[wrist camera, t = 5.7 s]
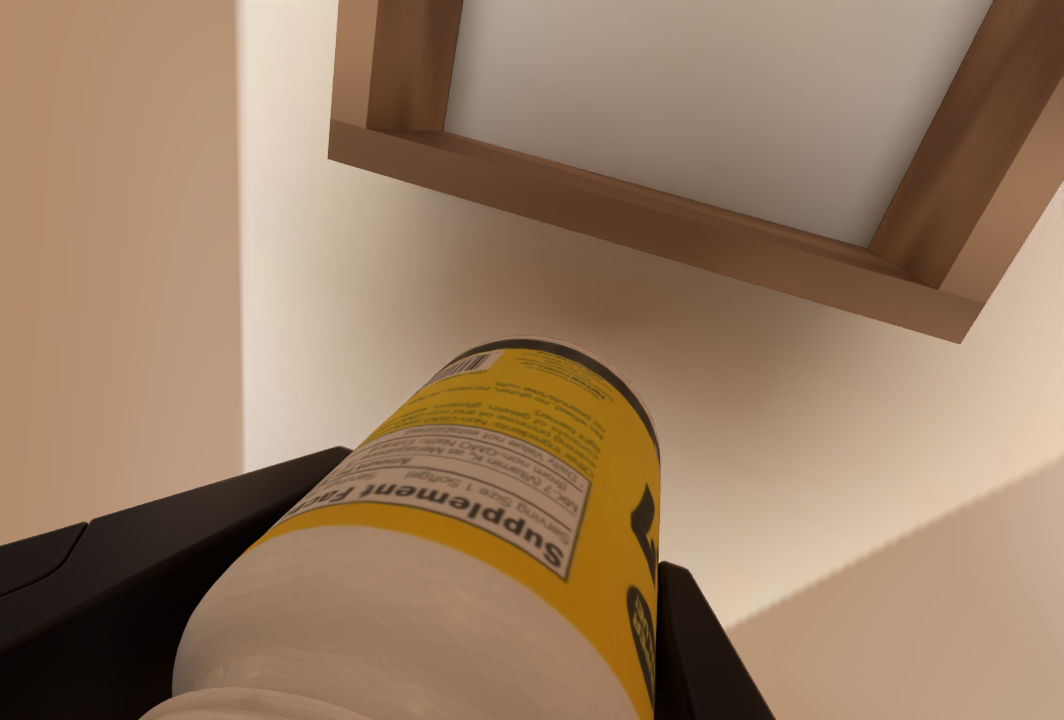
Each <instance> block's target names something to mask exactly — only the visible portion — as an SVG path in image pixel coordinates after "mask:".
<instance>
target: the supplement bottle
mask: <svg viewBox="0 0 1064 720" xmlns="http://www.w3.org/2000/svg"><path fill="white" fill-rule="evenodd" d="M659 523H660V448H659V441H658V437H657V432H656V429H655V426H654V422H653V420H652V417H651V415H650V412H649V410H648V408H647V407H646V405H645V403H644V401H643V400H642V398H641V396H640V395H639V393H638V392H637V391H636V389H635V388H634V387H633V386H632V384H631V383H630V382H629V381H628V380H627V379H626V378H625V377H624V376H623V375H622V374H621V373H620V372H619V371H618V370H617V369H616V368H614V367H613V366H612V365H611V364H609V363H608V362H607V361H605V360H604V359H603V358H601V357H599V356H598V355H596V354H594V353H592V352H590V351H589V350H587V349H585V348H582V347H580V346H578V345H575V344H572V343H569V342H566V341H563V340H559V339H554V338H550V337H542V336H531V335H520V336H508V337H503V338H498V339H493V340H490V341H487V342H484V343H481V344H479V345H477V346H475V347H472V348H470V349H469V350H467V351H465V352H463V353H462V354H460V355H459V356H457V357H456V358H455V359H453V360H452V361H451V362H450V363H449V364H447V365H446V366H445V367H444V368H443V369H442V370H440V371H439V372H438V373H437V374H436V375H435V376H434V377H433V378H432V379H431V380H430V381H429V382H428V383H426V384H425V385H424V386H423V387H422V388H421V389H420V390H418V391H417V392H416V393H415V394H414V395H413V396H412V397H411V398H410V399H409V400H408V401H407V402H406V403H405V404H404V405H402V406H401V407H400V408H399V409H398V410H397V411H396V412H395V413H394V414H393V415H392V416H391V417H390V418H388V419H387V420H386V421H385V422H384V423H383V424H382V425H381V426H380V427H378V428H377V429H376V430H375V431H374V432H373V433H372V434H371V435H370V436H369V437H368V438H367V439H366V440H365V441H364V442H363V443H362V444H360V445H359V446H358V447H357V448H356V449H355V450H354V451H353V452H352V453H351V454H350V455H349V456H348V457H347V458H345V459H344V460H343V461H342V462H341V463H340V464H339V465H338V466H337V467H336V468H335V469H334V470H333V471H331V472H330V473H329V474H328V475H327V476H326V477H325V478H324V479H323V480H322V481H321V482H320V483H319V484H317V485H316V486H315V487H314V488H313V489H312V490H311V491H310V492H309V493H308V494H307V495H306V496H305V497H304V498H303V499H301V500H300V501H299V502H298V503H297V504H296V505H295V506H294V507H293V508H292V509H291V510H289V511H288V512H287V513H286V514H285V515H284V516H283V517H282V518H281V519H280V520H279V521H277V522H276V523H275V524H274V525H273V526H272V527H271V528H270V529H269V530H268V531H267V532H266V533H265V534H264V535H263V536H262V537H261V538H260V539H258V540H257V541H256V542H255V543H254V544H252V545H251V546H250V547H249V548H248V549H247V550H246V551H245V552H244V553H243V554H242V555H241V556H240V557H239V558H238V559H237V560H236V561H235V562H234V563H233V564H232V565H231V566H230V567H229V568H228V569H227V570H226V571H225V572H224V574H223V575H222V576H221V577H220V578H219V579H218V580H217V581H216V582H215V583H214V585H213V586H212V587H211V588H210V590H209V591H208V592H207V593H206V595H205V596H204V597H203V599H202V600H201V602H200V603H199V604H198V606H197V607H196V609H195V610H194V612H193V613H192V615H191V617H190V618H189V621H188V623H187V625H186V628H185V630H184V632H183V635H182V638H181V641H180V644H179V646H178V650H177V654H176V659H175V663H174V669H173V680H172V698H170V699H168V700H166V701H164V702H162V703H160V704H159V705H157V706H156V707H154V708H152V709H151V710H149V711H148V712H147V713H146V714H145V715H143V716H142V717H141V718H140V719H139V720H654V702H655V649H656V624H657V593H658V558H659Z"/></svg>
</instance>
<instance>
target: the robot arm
mask: <svg viewBox="0 0 1064 720" xmlns="http://www.w3.org/2000/svg"><path fill="white" fill-rule="evenodd" d="M353 451H354V450H351V449H349V448H346V447H342V446H337V447H333V448H330V449H326V450H323V451H320V452H316V453H313V454H310V455H306V456H303V457H299V458H296V459H293V460H289V461H286V462H283V463H279V464H276V465H273V466H269V467H266V468H263V469H259V470H256V471H253V472H249V473H246V474H242V475H239V476H236V477H233V478H229V479H226V480H222V481H219V482H216V483H213V484H209V485H206V486H202V487H199V488H196V489H193V490H189V491H186V492H182V493H179V494H175V495H172V496H169V497H165V498H162V499H159V500H155V501H152V502H149V503H145V504H142V505H138V506H135V507H132V508H128V509H125V510H122V511H118V512H115V513H112V514H108V515H105V516H102V517H98V518H95V519H92V520H91V521H90V522H89V524H88V523H87V522H81V523H78V524H74V525H71V526H68V527H64V528H61V529H57V530H54V531H51V532H48V533H44V534H40V535H37V536H33V537H30V538H26V539H22V540H19V541H16V542H12V543H9V544H5V545H2V546H0V720H139V719H140V718H141V717H142V716H143V715H145V714H146V713H147V712H148V711H149V710H151V709H152V708H154V707H156V706H157V705H159V704H160V703H162V702H164V701H166V700H168V699H170V698H172V680H173V669H174V663H175V659H176V654H177V650H178V646H179V644H180V641H181V638H182V635H183V632H184V630H185V628H186V625H187V623H188V621H189V618H190V617H191V615H192V613H193V612H194V610H195V609H196V607H197V606H198V604H199V603H200V602H201V600H202V599H203V597H204V596H205V595H206V593H207V592H208V591H209V590H210V588H211V587H212V586H213V585H214V583H215V582H216V581H217V580H218V579H219V578H220V577H221V576H222V575H223V574H224V572H225V571H226V570H227V569H228V568H229V567H230V566H231V565H232V564H233V563H234V562H235V561H236V560H237V559H238V558H239V557H240V556H241V555H242V554H243V553H244V552H245V551H246V550H247V549H248V548H249V547H250V546H251V545H252V544H254V543H255V542H256V541H257V540H258V539H260V538H261V537H262V536H263V535H264V534H265V533H266V532H267V531H268V530H269V529H270V528H271V527H272V526H273V525H274V524H275V523H276V522H277V521H279V520H280V519H281V518H282V517H283V516H284V515H285V514H286V513H287V512H288V511H289V510H291V509H292V508H293V507H294V506H295V505H296V504H297V503H298V502H299V501H300V500H301V499H303V498H304V497H305V496H306V495H307V494H308V493H309V492H310V491H311V490H312V489H313V488H314V487H315V486H316V485H317V484H319V483H320V482H321V481H322V480H323V479H324V478H325V477H326V476H327V475H328V474H329V473H330V472H331V471H333V470H334V469H335V468H336V467H337V466H338V465H339V464H340V463H341V462H342V461H343V460H344V459H345V458H347V457H348V456H349V455H350V454H351V453H352V452H353ZM654 720H776V718H775V717H774V715H773V713H772V712H771V710H770V708H769V706H768V705H767V703H766V701H765V700H764V698H763V696H762V694H761V693H760V691H759V689H758V688H757V686H756V684H755V682H754V681H753V679H752V677H751V676H750V674H749V672H748V670H747V669H746V667H745V665H744V663H743V662H742V660H741V658H740V657H739V655H738V653H737V652H736V650H735V648H734V646H733V645H732V643H731V641H730V639H729V638H728V636H727V634H726V633H725V631H724V629H723V627H722V626H721V624H720V622H719V621H718V619H717V617H716V615H715V614H714V612H713V610H712V609H711V607H710V605H709V603H708V602H707V600H706V598H705V596H704V595H703V593H702V591H701V590H700V588H699V586H698V584H697V583H696V581H695V579H694V578H693V576H692V574H691V573H690V571H689V570H688V569H686V568H684V567H681V566H678V565H675V564H673V563H670V562H667V561H662V562H660V563H659V564H658V593H657V624H656V649H655V702H654Z"/></svg>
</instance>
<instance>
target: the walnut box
mask: <svg viewBox="0 0 1064 720" xmlns="http://www.w3.org/2000/svg"><path fill="white" fill-rule="evenodd" d="M462 3H463V0H339V7H338V21H337V35H336V49H335V63H334V77H333V91H332V105H331V119H330V133H329V147H328V159H330V160H333V161H337V162H340V163H343V164H347V165H350V166H354V167H357V168H361V169H364V170H367V171H371V172H374V173H378V174H381V175H384V176H388V177H391V178H395V179H398V180H401V181H405V182H408V183H412V184H415V185H419V186H422V187H425V188H429V189H432V190H436V191H439V192H442V193H446V194H449V195H453V196H456V197H459V198H463V199H466V200H470V201H473V202H477V203H480V204H483V205H487V206H490V207H494V208H497V209H500V210H504V211H507V212H511V213H514V214H517V215H521V216H524V217H528V218H531V219H535V220H538V221H541V222H545V223H548V224H552V225H555V226H558V227H562V228H565V229H569V230H572V231H575V232H579V233H582V234H586V235H589V236H593V237H596V238H599V239H603V240H606V241H610V242H613V243H616V244H620V245H623V246H627V247H630V248H633V249H637V250H640V251H644V252H647V253H651V254H654V255H657V256H661V257H664V258H668V259H671V260H674V261H678V262H681V263H685V264H688V265H691V266H695V267H698V268H702V269H705V270H709V271H712V272H715V273H719V274H722V275H726V276H729V277H732V278H736V279H739V280H743V281H746V282H749V283H753V284H756V285H760V286H763V287H767V288H770V289H773V290H777V291H780V292H784V293H787V294H790V295H794V296H797V297H801V298H804V299H807V300H811V301H814V302H818V303H821V304H824V305H828V306H831V307H835V308H838V309H842V310H845V311H848V312H852V313H855V314H859V315H862V316H865V317H869V318H872V319H876V320H879V321H882V322H886V323H889V324H893V325H896V326H900V327H903V328H906V329H910V330H913V331H917V332H920V333H923V334H927V335H930V336H934V337H937V338H940V339H944V340H947V341H951V342H954V343H958V344H961V342H962V341H963V339H964V337H965V336H966V334H967V333H968V331H969V329H970V328H971V326H972V325H973V323H974V321H975V320H976V318H977V317H978V315H979V314H980V312H981V310H982V309H983V307H984V306H985V304H986V302H987V301H988V299H989V298H990V296H991V294H992V293H993V291H994V290H995V288H996V287H997V285H998V283H999V282H1000V280H1001V279H1002V277H1003V275H1004V274H1005V272H1006V271H1007V269H1008V267H1009V266H1010V264H1011V263H1012V261H1013V260H1014V258H1015V256H1016V255H1017V253H1018V252H1019V250H1020V248H1021V247H1022V245H1023V244H1024V242H1025V240H1026V239H1027V237H1028V236H1029V234H1030V233H1031V231H1032V229H1033V228H1034V226H1035V225H1036V223H1037V221H1038V220H1039V218H1040V217H1041V215H1042V213H1043V212H1044V210H1045V209H1046V207H1047V206H1048V204H1049V202H1050V201H1051V199H1052V198H1053V196H1054V194H1055V193H1056V191H1057V190H1058V188H1059V186H1060V185H1061V183H1062V182H1063V180H1064V0H994V2H993V4H992V6H991V8H990V10H989V12H988V14H987V15H986V17H985V19H984V21H983V23H982V25H981V27H980V29H979V31H978V33H977V35H976V37H975V39H974V41H973V43H972V45H971V47H970V49H969V51H968V53H967V55H966V57H965V59H964V61H963V63H962V65H961V67H960V69H959V71H958V73H957V75H956V77H955V78H954V80H953V82H952V84H951V86H950V88H949V90H948V92H947V94H946V96H945V98H944V100H943V102H942V104H941V106H940V108H939V110H938V112H937V114H936V116H935V118H934V120H933V122H932V124H931V126H930V128H929V130H928V132H927V134H926V136H925V138H924V140H923V141H922V143H921V145H920V147H919V149H918V151H917V153H916V155H915V157H914V159H913V161H912V163H911V165H910V167H909V169H908V171H907V173H906V175H905V177H904V179H903V181H902V183H901V185H900V187H899V189H898V191H897V193H896V195H895V197H894V199H893V201H892V203H891V205H890V206H889V208H888V210H887V212H886V214H885V216H884V218H883V220H882V222H881V224H880V226H879V228H878V230H877V232H876V234H875V236H874V238H873V240H872V242H871V244H870V246H869V248H868V249H866V248H863V247H859V246H856V245H852V244H848V243H845V242H841V241H837V240H834V239H830V238H827V237H823V236H819V235H816V234H812V233H809V232H805V231H801V230H798V229H794V228H791V227H787V226H783V225H780V224H776V223H773V222H769V221H765V220H762V219H758V218H754V217H751V216H747V215H744V214H740V213H736V212H733V211H729V210H726V209H722V208H718V207H715V206H711V205H708V204H704V203H700V202H697V201H693V200H690V199H686V198H682V197H679V196H675V195H672V194H668V193H664V192H661V191H657V190H653V189H650V188H646V187H643V186H639V185H635V184H632V183H628V182H625V181H621V180H617V179H614V178H610V177H607V176H603V175H599V174H596V173H592V172H589V171H585V170H581V169H578V168H574V167H570V166H567V165H563V164H560V163H556V162H552V161H549V160H545V159H542V158H538V157H534V156H531V155H527V154H524V153H520V152H516V151H513V150H509V149H506V148H502V147H498V146H495V145H491V144H488V143H484V142H480V141H477V140H473V139H469V138H466V137H462V136H459V135H455V134H451V133H448V132H444V131H443V126H444V120H445V113H446V107H447V100H448V94H449V87H450V81H451V74H452V68H453V61H454V55H455V48H456V42H457V35H458V29H459V22H460V16H461V9H462Z"/></svg>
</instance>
